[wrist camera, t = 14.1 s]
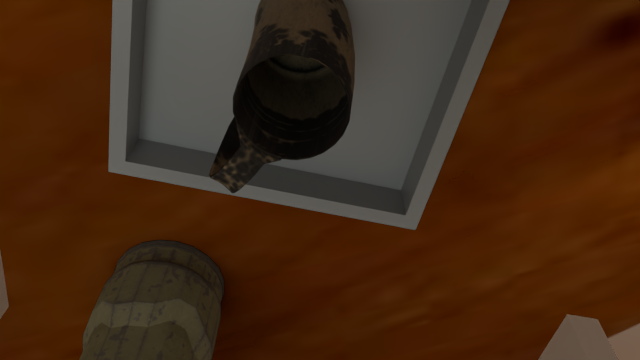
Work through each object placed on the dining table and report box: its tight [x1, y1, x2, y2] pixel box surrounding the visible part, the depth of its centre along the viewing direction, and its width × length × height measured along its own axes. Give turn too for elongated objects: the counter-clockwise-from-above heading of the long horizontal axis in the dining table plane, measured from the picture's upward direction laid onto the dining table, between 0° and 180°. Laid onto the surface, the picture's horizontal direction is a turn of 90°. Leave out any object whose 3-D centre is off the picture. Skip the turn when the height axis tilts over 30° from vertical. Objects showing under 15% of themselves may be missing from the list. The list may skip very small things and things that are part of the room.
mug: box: [209, 0, 355, 194], centre depth 28 cm, size 8×6×12 cm
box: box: [108, 0, 510, 230], centre depth 32 cm, size 20×20×4 cm
